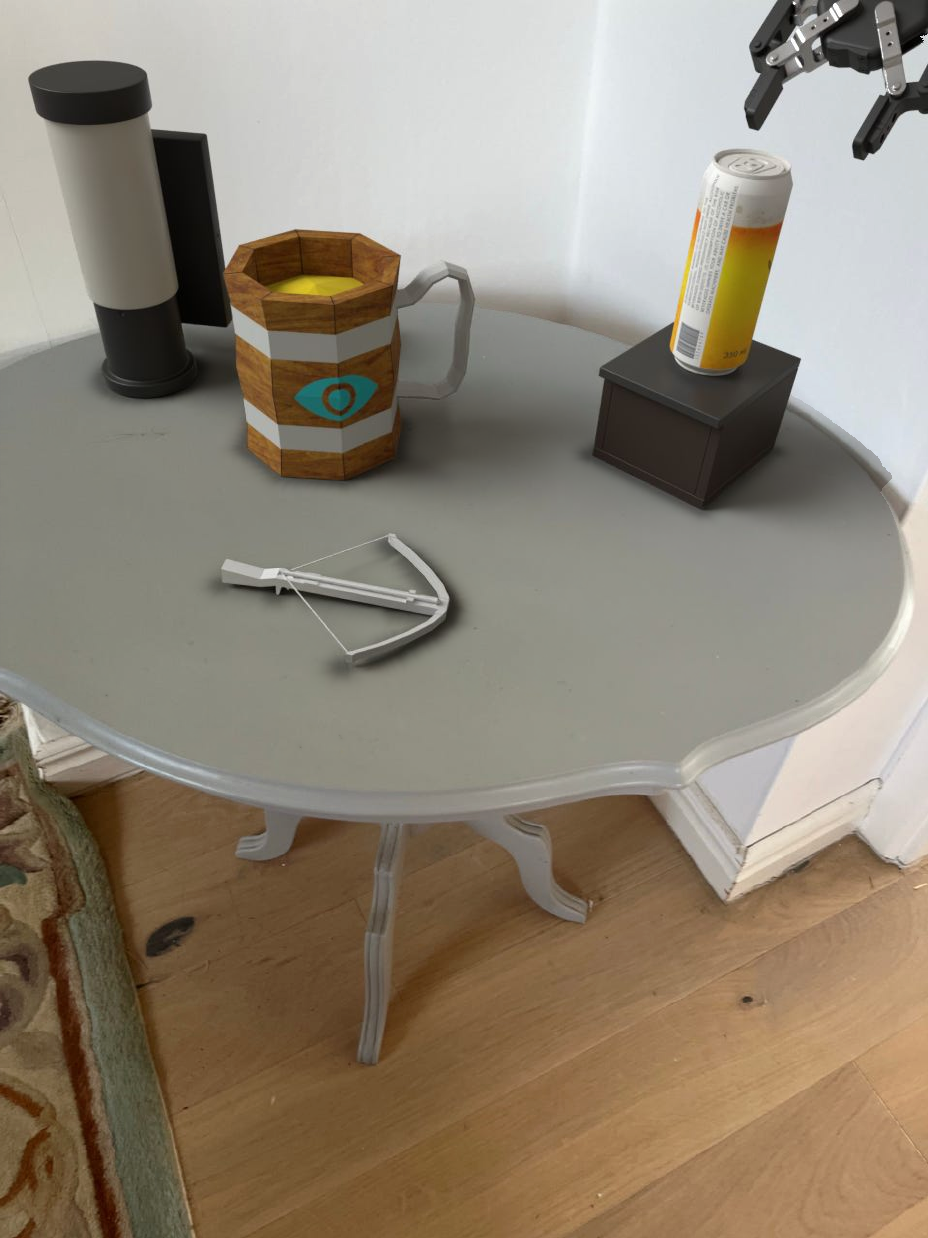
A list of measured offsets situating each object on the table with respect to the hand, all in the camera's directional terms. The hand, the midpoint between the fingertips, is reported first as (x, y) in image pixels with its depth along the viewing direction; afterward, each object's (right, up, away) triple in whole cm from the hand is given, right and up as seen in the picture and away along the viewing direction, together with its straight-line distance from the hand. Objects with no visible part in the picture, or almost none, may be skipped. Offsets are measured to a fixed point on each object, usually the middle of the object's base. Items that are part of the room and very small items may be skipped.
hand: (803, 137), depth 70 cm
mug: (-34, -19, +13) cm, 41 cm away
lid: (-6, -15, +6) cm, 18 cm away
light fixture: (-53, -12, +19) cm, 58 cm away
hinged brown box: (-6, -21, +12) cm, 25 cm away
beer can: (-5, -15, +6) cm, 17 cm away
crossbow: (-34, -34, -2) cm, 48 cm away
